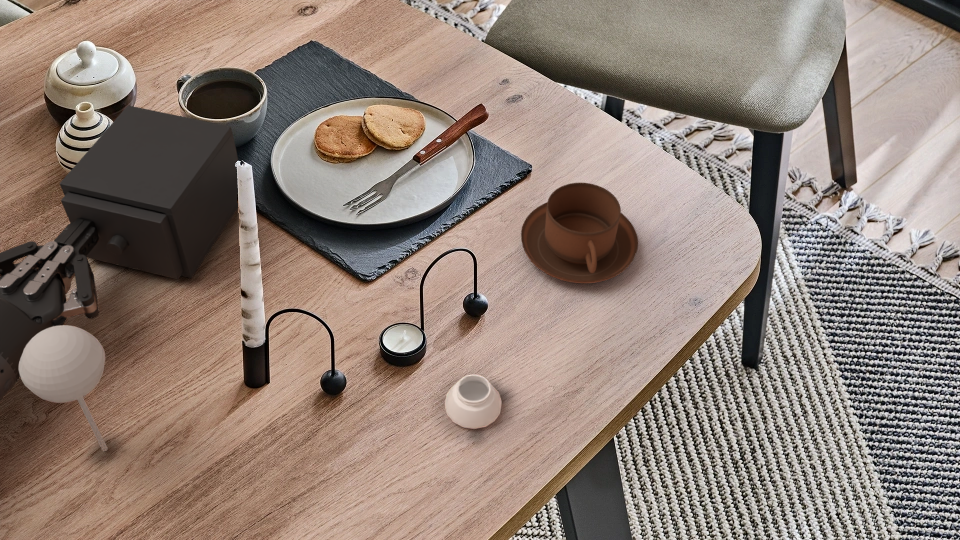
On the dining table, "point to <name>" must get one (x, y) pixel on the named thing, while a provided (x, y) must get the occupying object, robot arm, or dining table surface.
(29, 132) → the dining table surface
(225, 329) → the dining table surface
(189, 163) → the small drawer cabinet
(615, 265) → the cup and saucer
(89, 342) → the lollipop
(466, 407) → the lidless jar
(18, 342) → the robot arm
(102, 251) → the black rectangular drawer
